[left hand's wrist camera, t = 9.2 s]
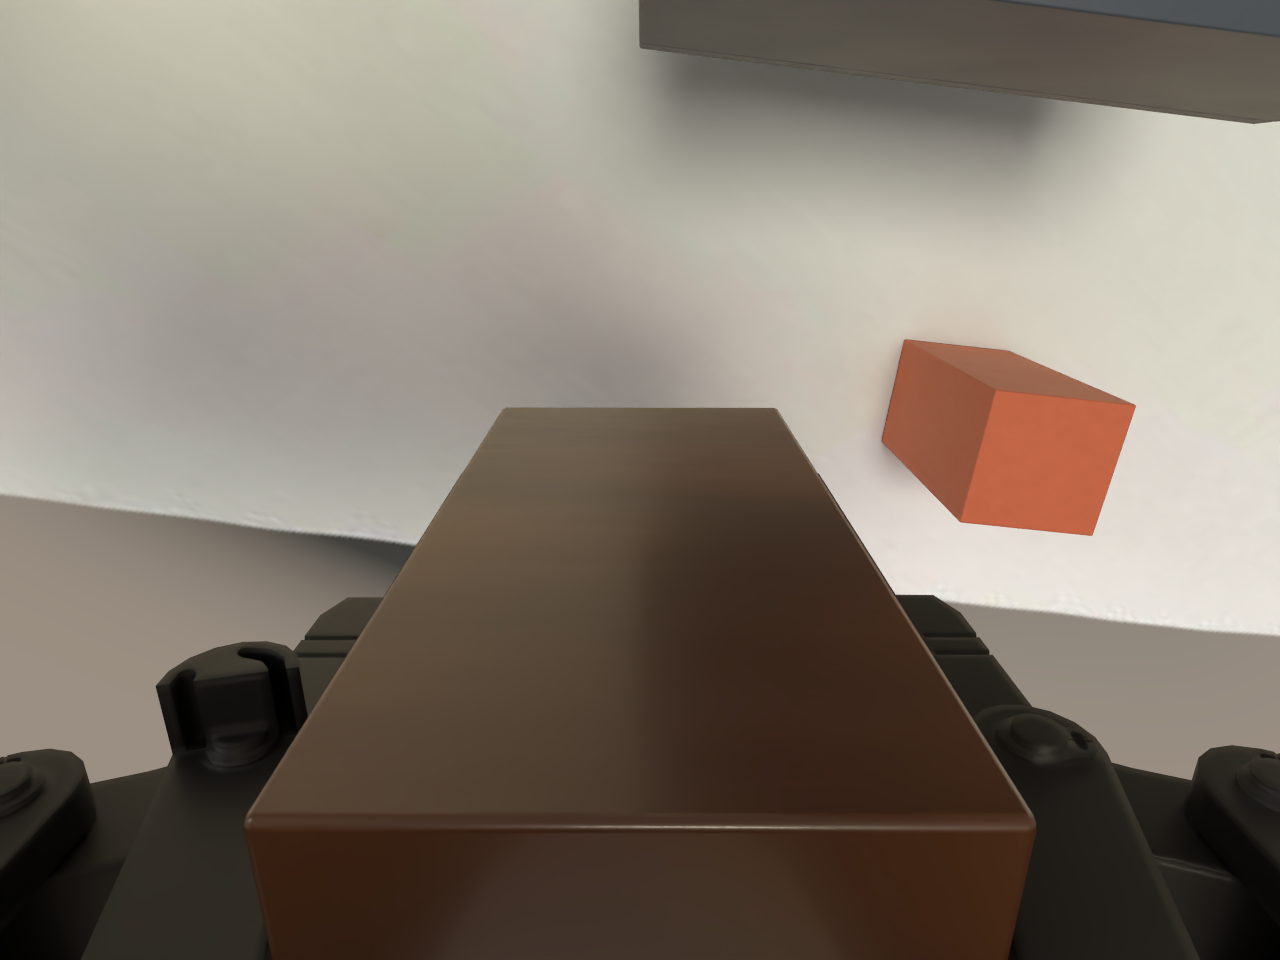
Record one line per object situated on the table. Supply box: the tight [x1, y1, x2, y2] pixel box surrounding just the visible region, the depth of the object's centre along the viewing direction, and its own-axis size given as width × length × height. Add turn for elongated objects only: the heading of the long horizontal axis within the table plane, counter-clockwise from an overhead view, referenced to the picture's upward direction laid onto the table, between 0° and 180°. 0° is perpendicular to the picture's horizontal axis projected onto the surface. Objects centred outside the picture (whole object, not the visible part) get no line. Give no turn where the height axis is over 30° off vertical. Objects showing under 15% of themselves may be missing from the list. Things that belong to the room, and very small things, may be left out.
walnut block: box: [244, 408, 1036, 960], centre depth 10 cm, size 5×5×10 cm
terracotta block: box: [882, 340, 1136, 536], centre depth 33 cm, size 5×5×10 cm
